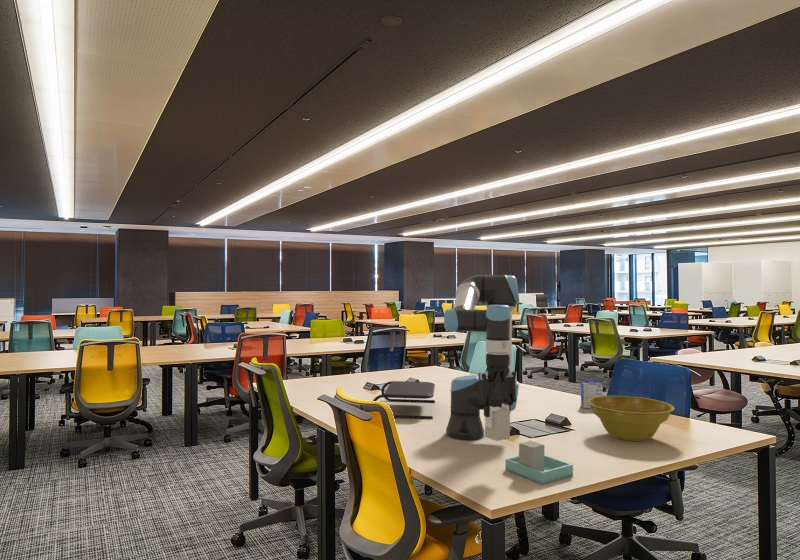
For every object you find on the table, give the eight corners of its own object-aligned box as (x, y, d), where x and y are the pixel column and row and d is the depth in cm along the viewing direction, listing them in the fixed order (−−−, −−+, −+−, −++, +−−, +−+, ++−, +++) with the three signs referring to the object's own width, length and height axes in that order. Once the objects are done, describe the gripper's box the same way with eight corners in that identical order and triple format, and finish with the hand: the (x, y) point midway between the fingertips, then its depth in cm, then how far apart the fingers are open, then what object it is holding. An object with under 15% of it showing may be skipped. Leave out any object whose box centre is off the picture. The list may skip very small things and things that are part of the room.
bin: (505, 470, 172) (505, 459, 172) (535, 462, 180) (535, 452, 180) (542, 484, 160) (542, 472, 160) (572, 475, 168) (572, 464, 168)
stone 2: (530, 468, 172) (530, 440, 172) (544, 473, 167) (544, 444, 168) (518, 471, 169) (519, 443, 169) (532, 477, 164) (532, 447, 165)
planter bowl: (621, 451, 195) (622, 414, 195) (571, 428, 226) (571, 396, 226) (693, 445, 203) (694, 409, 204) (635, 424, 235) (635, 393, 235)
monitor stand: (432, 420, 240) (433, 395, 240) (371, 418, 242) (371, 394, 242) (434, 402, 276) (435, 381, 277) (381, 401, 279) (381, 380, 279)
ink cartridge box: (599, 406, 271) (599, 377, 272) (603, 408, 266) (603, 379, 266) (580, 406, 271) (580, 377, 272) (583, 408, 266) (583, 379, 266)
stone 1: (484, 436, 171) (485, 408, 171) (497, 434, 174) (497, 406, 174) (496, 440, 166) (497, 411, 166) (509, 438, 169) (510, 410, 169)
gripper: (480, 355, 163) (480, 432, 163) (528, 353, 172) (527, 425, 171) (466, 353, 170) (465, 426, 169) (513, 350, 178) (512, 420, 178)
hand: (497, 425), depth 170 cm, fingers closed on stone 1, 6 cm apart
